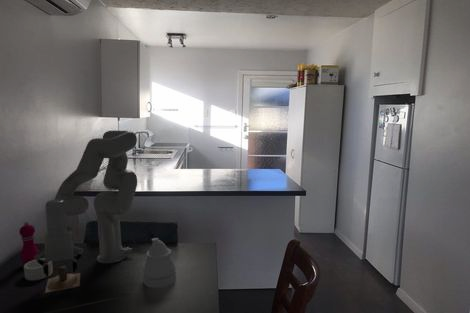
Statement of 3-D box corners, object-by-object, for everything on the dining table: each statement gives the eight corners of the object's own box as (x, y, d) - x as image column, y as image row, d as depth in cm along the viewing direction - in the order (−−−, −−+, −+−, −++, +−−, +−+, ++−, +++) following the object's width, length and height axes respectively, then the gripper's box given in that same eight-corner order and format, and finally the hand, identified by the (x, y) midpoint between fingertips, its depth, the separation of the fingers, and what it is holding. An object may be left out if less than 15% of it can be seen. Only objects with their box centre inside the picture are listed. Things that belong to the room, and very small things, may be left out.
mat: (80, 274, 146) (80, 272, 146) (79, 287, 135) (79, 286, 135) (48, 280, 142) (48, 278, 142) (45, 294, 131) (44, 292, 131)
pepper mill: (31, 268, 153) (26, 225, 150) (17, 267, 154) (12, 224, 151) (43, 261, 160) (39, 219, 157) (30, 260, 161) (25, 219, 158)
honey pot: (165, 290, 132) (163, 245, 130) (137, 285, 137) (134, 241, 134) (181, 275, 144) (180, 233, 142) (155, 270, 149) (153, 230, 146)
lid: (77, 274, 145) (76, 260, 144) (76, 285, 136) (75, 270, 135) (50, 279, 141) (49, 265, 140) (48, 291, 132) (46, 275, 131)
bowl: (53, 268, 152) (52, 256, 152) (51, 278, 143) (50, 265, 142) (27, 272, 148) (26, 260, 148) (23, 283, 139) (22, 270, 139)
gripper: (82, 225, 142) (84, 265, 144) (34, 231, 135) (37, 272, 137) (82, 231, 135) (84, 272, 137) (31, 237, 129) (34, 281, 131)
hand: (61, 272), depth 137 cm, fingers open, 9 cm apart
